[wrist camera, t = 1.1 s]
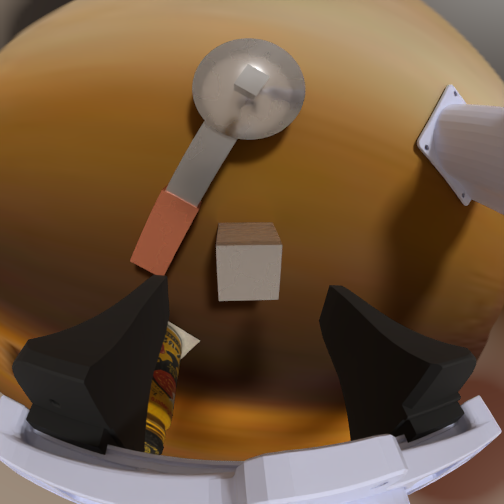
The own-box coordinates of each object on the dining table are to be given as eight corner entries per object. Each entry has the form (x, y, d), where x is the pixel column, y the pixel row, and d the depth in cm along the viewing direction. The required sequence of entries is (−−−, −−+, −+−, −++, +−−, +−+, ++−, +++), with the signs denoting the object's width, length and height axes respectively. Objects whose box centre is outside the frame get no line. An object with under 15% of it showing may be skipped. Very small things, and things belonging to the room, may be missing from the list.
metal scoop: (231, 32, 14) (231, 8, 10) (315, 81, 16) (336, 69, 12) (115, 238, 20) (94, 261, 16) (190, 277, 22) (183, 307, 18)
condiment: (200, 339, 25) (191, 453, 14) (160, 378, 27) (143, 470, 16) (135, 298, 22) (89, 409, 12) (104, 346, 25) (68, 437, 14)
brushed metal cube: (270, 269, 22) (278, 299, 18) (220, 270, 22) (218, 300, 18) (272, 222, 20) (282, 244, 16) (218, 223, 20) (215, 245, 16)
